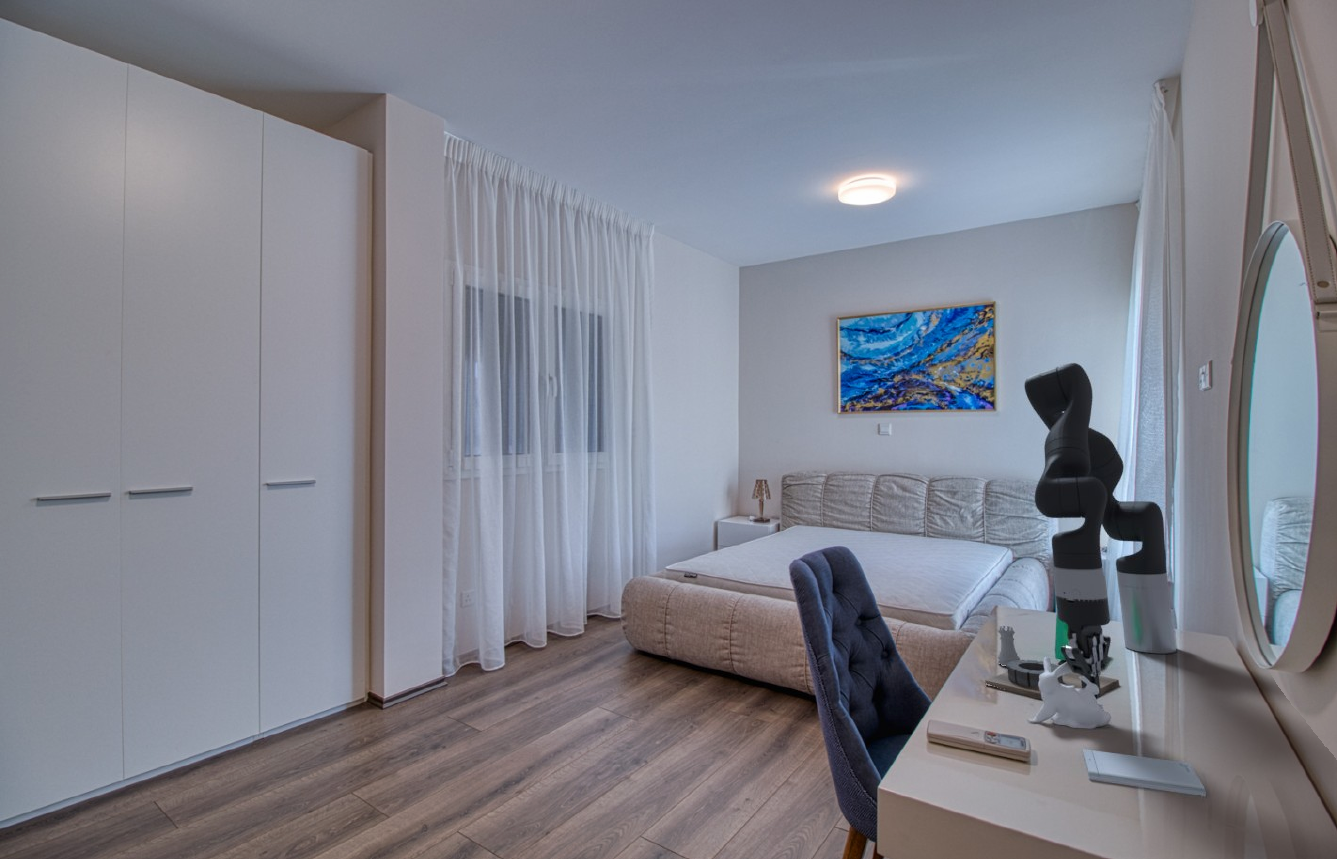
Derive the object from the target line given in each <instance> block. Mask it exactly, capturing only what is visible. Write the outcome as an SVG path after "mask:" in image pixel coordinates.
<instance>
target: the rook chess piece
mask: <svg viewBox="0 0 1337 859" xmlns="http://www.w3.org/2000/svg"><path fill="white" fill-rule="evenodd" d="M997 632H998V633H999V635H1000V637H999V640H1000V643H1001V646H1000V651H999V653H998V655H997V659H998V660H997V663H998V664H999V663H1000V664H1002V665H1006V666H1007V663H1008V662H1011V661H1015V660H1021V658H1020V655H1018V653H1017V651H1016V647H1015V644H1014V643H1015V642H1014V641H1015V638H1014V634H1015V633H1016V632H1015V630H1014V629H1013V626H1008V625H1006V626H1005V625H1002V626H1001V625H999V629H998V630H997ZM1000 664H999V665H1000Z"/></svg>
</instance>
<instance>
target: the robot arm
mask: <svg viewBox="0 0 1337 859" xmlns="http://www.w3.org/2000/svg"><path fill="white" fill-rule="evenodd" d="M1023 386H1024V391H1025V395H1026V397H1027V399H1028V401H1029V404H1030V405H1031V407H1032V408H1033V410H1034V411H1035V413H1036V414H1037V416H1038V417H1039V418H1040V420H1041V421H1042V422H1043V423H1044V425H1045V427H1046V428H1047V429H1048V430H1049V431H1048V434H1047V436H1046V438H1045V441H1044V449H1043V450H1044V451H1043V452H1044V461H1045V462H1044V468H1043V471H1042V474H1041V476H1040V477H1039V480H1038V482H1037V485H1036V488H1035V491H1034V492H1035V493H1034V503H1035V506H1036V509H1037V510H1038V512H1040V513H1041V514H1042V515H1043V516H1044V517H1047V518H1049V519H1050V518H1051V519H1063V518H1064V519H1078V518H1079V519H1080V518H1082V519H1084V522H1083V524H1082V525H1081V526H1079V528H1076V529H1071V530H1065V531H1061V532H1057V533H1055V534H1053V535H1052V536H1051V550H1052V559H1053V560H1052V562H1053V568H1054V570H1053V585H1054V595H1055V603H1056V615H1058V619H1059V620H1060V621H1062V622H1065V623H1066V624H1067V625H1068V632H1067V637H1068V642H1069V643H1068V646H1062V647H1061V652H1062V654H1063V656H1064V658H1065V659H1066V660H1065V661H1066V662H1067V663H1068V665H1069V666H1070V668H1071V670H1072V672H1073V673H1078V674H1080V675H1081V676H1085V677H1086V678H1087V679H1088V680H1089V681H1090V682H1091V683H1093V684H1096V685H1097V686H1098V688H1099V694H1096V695H1094V696H1095V698H1096V700H1098V699H1100V698H1101V697H1102V694H1101V691H1100V682H1099V676H1102V675H1101V674H1102V670H1105V669H1106V666H1107V662H1108V661H1107V660H1108V655H1109V651H1110V647H1111V641H1112V640H1111V637H1110V635H1109V636H1108V635H1104V634H1103V627H1102V626H1106V625H1109V623H1110V622H1111V617H1110V616H1111V615H1110V608H1109V598H1108V589H1107V580H1106V577H1105V572H1104V569H1103V562H1102V561H1103V560H1102V552H1101V551H1102V550H1101V530H1102V528H1103V529H1104V531H1105V533H1106V534H1107V535H1108V537H1109V538H1110V539H1113V540H1115V541H1119V542H1138V543H1140V542H1141V549H1139V550H1138V551H1137V552H1135V553H1133V554H1128V555H1125V556H1121V557H1119V558H1116V560H1115V567H1116V577H1117V584H1118V593H1119V603H1120V611H1121V612H1120V613H1121V620H1122V628H1123V629H1122V630H1123V640H1124V646H1125V647H1126V648H1127V649H1129V650H1132V651H1136V652H1141V653H1148V654H1161V655H1162V654H1173V653H1176V652H1177V647H1176V646H1177V645H1176V638H1175V629H1174V621H1173V620H1174V619H1173V614H1172V612H1173V611H1172V604H1171V596H1170V588H1169V580H1168V571H1167V556H1166V555H1167V554H1166V552H1167V551H1166V543H1165V524H1164V523H1165V522H1164V515H1163V512H1162V509H1161V507H1160V506H1159V505H1158V503H1156V502H1154V501H1145V500H1144V501H1143V500H1142V501H1135V500H1133V501H1132V500H1131V501H1127V500H1126V501H1119V500H1118V499H1116V498H1115V496H1114V491H1115V490H1116V487H1117V485H1118V484H1119V482H1120V480H1121V479H1122V476H1123V473H1124V461H1123V459H1122V458H1121V455H1120V453H1119V452H1118V449H1117V447H1115V444H1114V443H1113V442H1112V440H1111V439H1110V438H1109V437H1108V436H1106V435H1105V434H1103V433H1101V432H1100V431H1098V430H1095V429H1094V428H1092V427H1090V422H1091V415H1092V406H1093V388H1092V384H1091V381H1090V378H1089V376H1088V374H1087V372H1086V370H1085V369H1084V367H1082V365H1081V364H1079V363H1077V362H1071V363H1065V364H1063V365H1059V366H1056V367H1053V368H1050V369H1047V370H1043V371H1040V372H1036V373H1034V374H1032V375H1030V376H1028V377H1027V378H1025V380H1024V385H1023ZM1081 683H1082V689H1084V688H1086V686H1087V684H1086V683H1085V682H1084V681H1082V680H1081Z"/></svg>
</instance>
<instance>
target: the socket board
mask: <svg viewBox="0 0 1337 859" xmlns="http://www.w3.org/2000/svg"><path fill="white" fill-rule="evenodd" d="M1050 666H1051V673H1052V672H1053V671H1054V670H1055V669H1057V668H1058V667H1059V666H1060V665H1057V664H1055V663H1051V662H1050ZM1006 668H1007V671H1006V672H1004V673H1001V674H998V675H995V676H993V677H990V678H987V679H985V680H984V681H985V684H986V683H987V684H990V685H992V686H995V687H998V688H1001V689H1000V690H1002V689H1005V690H1004V691H1006V690H1007V691H1006V692H1009V693H1016V694H1018V693H1019V695H1022V696H1026V697H1030V698H1034V699H1039V700H1042V697H1041V693H1042V692H1041V691H1040V690H1039V686H1038V683H1039V675H1040V674H1042V673H1044V672H1045V670H1044V664H1043V660H1036V659H1035V660H1034V659H1020V660H1015V661H1011V662H1008V663H1007V667H1006ZM1079 676H1080V674H1078V673H1073V672H1072V671H1070V672H1068V673H1066V674H1064V675H1061V676H1060V677H1058V682H1059V683H1060V684H1063V685H1066V686H1074V688H1077V689H1080V688H1082V683H1081V679H1080V678H1079ZM1098 676H1099V682H1100V691H1101V695H1102V694H1104V693H1106V692H1108V691H1110V690H1112V689H1115V688H1116V687H1118V686H1120V680H1119V679H1117V678H1112V677H1108V676H1107V677H1106V676H1102V675H1098ZM998 688H997V689H998Z"/></svg>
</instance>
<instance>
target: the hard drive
mask: <svg viewBox="0 0 1337 859" xmlns="http://www.w3.org/2000/svg"><path fill="white" fill-rule="evenodd" d="M1081 753H1082V758H1083V761H1084V766H1085V770H1086V773H1087V776H1088V779H1089V780H1091V781H1092V780H1093V781H1098V782H1105V783H1111V784H1117V785H1118V784H1119V785H1126V786H1132V787H1139V788H1144V789H1145V788H1146V789H1152V790H1158V791H1165V792H1173V793H1179V794H1185V795H1193V796H1198V795H1201V796H1200V797H1205V796H1206V797H1207V792H1206V789H1205V786H1204V784H1203V783H1202V780H1200V778H1199V777H1198V775H1197V773H1196V772H1195V771H1194V769H1193V767H1192V766H1191V764H1190V763H1189V762H1183V761H1176V760H1169V759H1161V758H1154V757H1145V756H1139V755H1131V754H1123V753H1115V752H1110V751H1109V752H1108V751H1101V750H1100V751H1099V750H1095V749H1093V750H1092V749H1085V748H1082V751H1081Z"/></svg>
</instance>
